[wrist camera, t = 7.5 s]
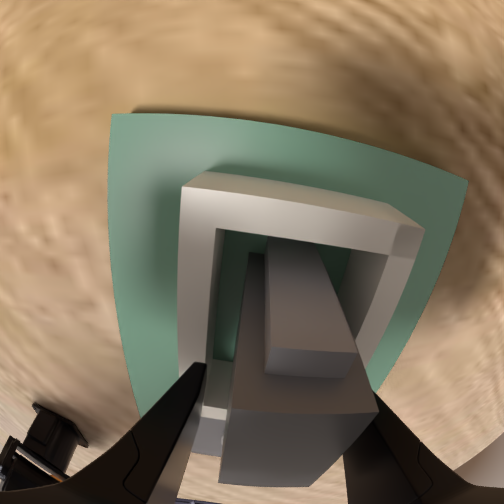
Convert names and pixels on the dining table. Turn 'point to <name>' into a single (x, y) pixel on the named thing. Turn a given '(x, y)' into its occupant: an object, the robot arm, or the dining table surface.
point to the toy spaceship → (191, 501)
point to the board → (261, 241)
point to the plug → (292, 373)
